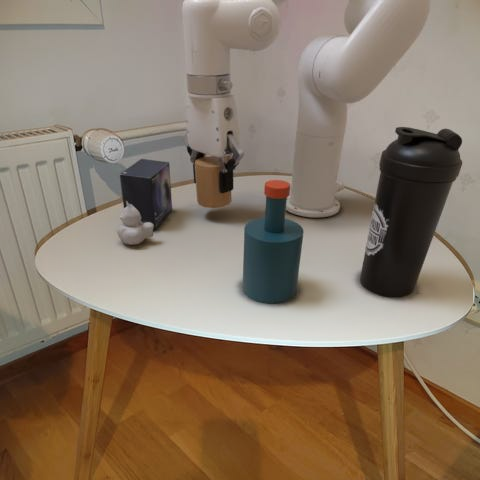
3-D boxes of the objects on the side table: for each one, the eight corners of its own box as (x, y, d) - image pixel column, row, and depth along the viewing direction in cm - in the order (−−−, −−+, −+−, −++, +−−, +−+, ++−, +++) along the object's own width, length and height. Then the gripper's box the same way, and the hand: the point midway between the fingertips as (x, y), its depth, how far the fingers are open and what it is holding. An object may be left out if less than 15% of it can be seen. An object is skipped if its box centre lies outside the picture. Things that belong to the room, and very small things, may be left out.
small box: (156, 231, 81) (151, 177, 74) (124, 228, 82) (116, 174, 75) (174, 211, 89) (170, 160, 83) (145, 208, 90) (139, 157, 84)
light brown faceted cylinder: (215, 192, 89) (213, 154, 85) (237, 201, 86) (237, 161, 81) (190, 201, 86) (187, 161, 81) (213, 210, 82) (211, 169, 77)
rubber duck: (122, 236, 79) (115, 194, 74) (157, 236, 79) (153, 195, 74) (116, 249, 74) (108, 206, 70) (153, 249, 75) (148, 206, 70)
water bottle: (349, 266, 72) (379, 120, 58) (409, 268, 71) (453, 123, 58) (361, 299, 63) (399, 138, 50) (428, 302, 63) (485, 141, 50)
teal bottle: (267, 269, 70) (274, 170, 60) (307, 289, 65) (322, 184, 56) (231, 287, 65) (232, 182, 55) (271, 310, 61) (281, 200, 51)
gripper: (260, 88, 70) (258, 192, 81) (193, 78, 80) (199, 172, 91) (228, 94, 66) (230, 203, 77) (161, 82, 76) (171, 181, 86)
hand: (213, 185), depth 84 cm, fingers closed on light brown faceted cylinder, 6 cm apart
